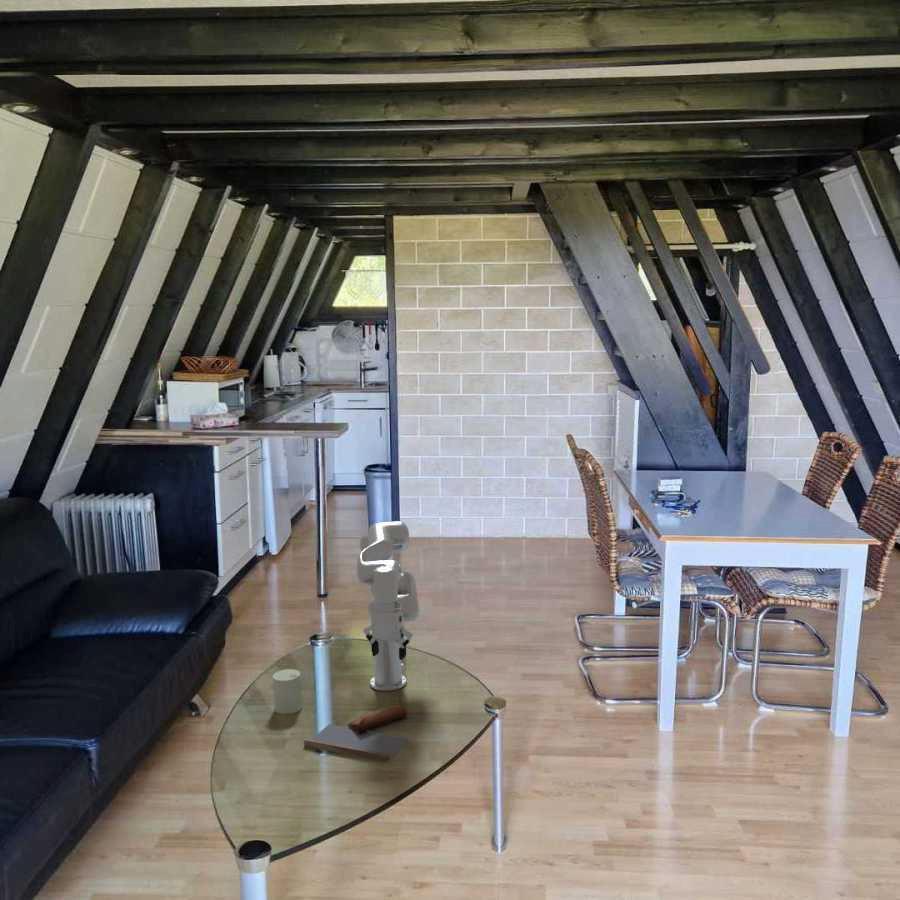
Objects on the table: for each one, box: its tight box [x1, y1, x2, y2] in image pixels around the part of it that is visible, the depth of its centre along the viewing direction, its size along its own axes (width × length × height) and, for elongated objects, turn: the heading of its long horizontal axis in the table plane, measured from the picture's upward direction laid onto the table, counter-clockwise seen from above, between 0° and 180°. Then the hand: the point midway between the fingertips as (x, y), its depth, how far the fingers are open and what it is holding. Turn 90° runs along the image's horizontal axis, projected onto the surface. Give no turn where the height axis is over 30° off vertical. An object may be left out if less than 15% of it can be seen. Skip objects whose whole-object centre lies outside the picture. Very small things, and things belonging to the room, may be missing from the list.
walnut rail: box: [303, 737, 391, 763], centre depth 242 cm, size 1×28×2 cm, turn 67°
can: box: [272, 668, 304, 715], centre depth 272 cm, size 9×9×12 cm
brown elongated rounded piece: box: [347, 705, 408, 735], centre depth 259 cm, size 18×7×7 cm, turn 129°
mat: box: [312, 723, 410, 760], centre depth 248 cm, size 13×28×1 cm, turn 67°
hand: (389, 656), depth 266 cm, fingers open, 9 cm apart
